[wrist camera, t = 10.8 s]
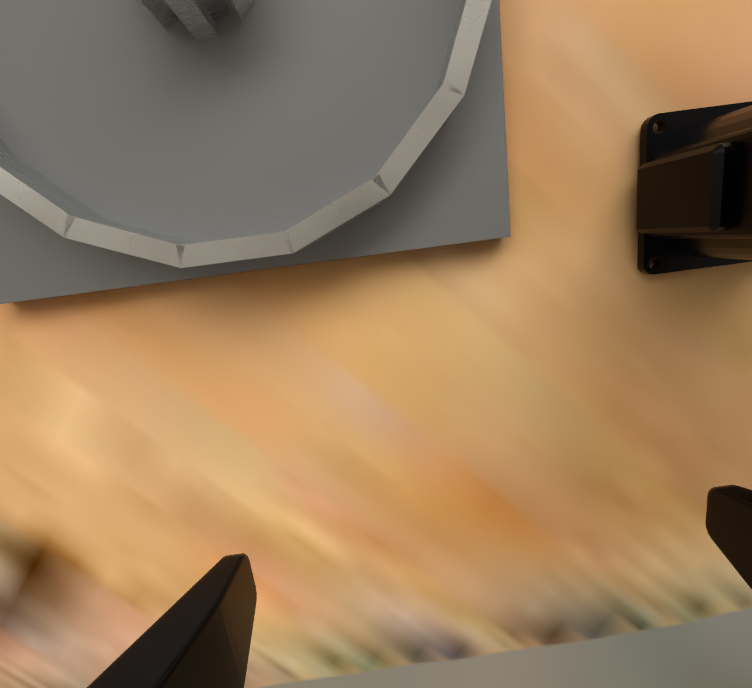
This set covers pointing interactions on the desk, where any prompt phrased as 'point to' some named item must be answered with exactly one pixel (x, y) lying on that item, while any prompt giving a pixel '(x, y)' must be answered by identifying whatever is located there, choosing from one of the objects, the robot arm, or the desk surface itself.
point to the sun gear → (194, 13)
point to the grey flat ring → (84, 225)
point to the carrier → (241, 132)
